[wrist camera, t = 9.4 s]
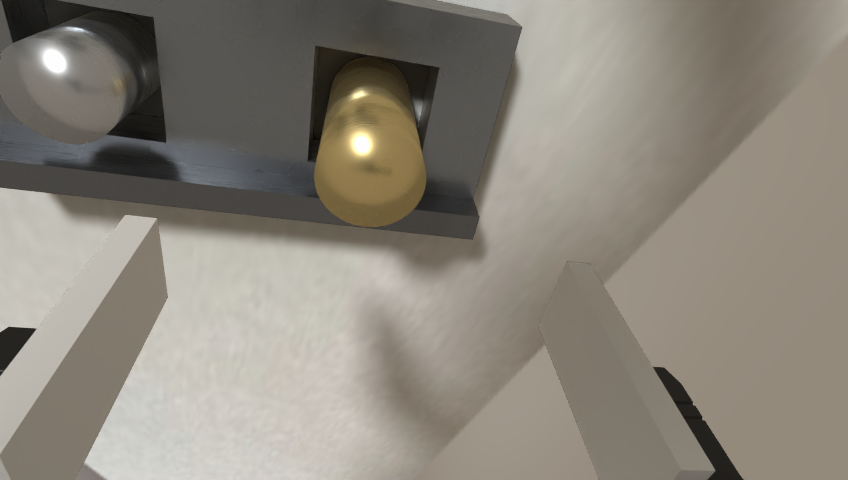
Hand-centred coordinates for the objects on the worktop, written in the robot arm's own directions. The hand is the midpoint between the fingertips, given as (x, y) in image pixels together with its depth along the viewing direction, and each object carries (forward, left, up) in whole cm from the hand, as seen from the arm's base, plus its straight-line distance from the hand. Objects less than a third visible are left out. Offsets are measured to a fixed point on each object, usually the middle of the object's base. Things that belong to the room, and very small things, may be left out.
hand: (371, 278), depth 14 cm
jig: (0, -6, -16) cm, 17 cm away
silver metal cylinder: (0, -13, -16) cm, 21 cm away
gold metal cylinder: (0, 0, -16) cm, 16 cm away
